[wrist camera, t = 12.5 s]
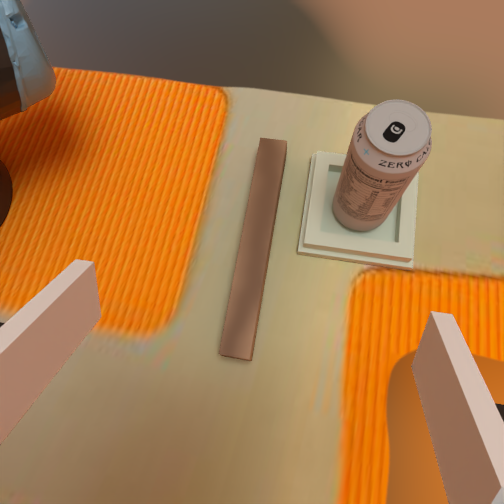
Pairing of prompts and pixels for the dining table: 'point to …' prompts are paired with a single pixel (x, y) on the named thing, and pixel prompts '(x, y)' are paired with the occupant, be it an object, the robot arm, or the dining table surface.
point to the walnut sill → (254, 251)
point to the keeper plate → (348, 240)
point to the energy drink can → (381, 163)
